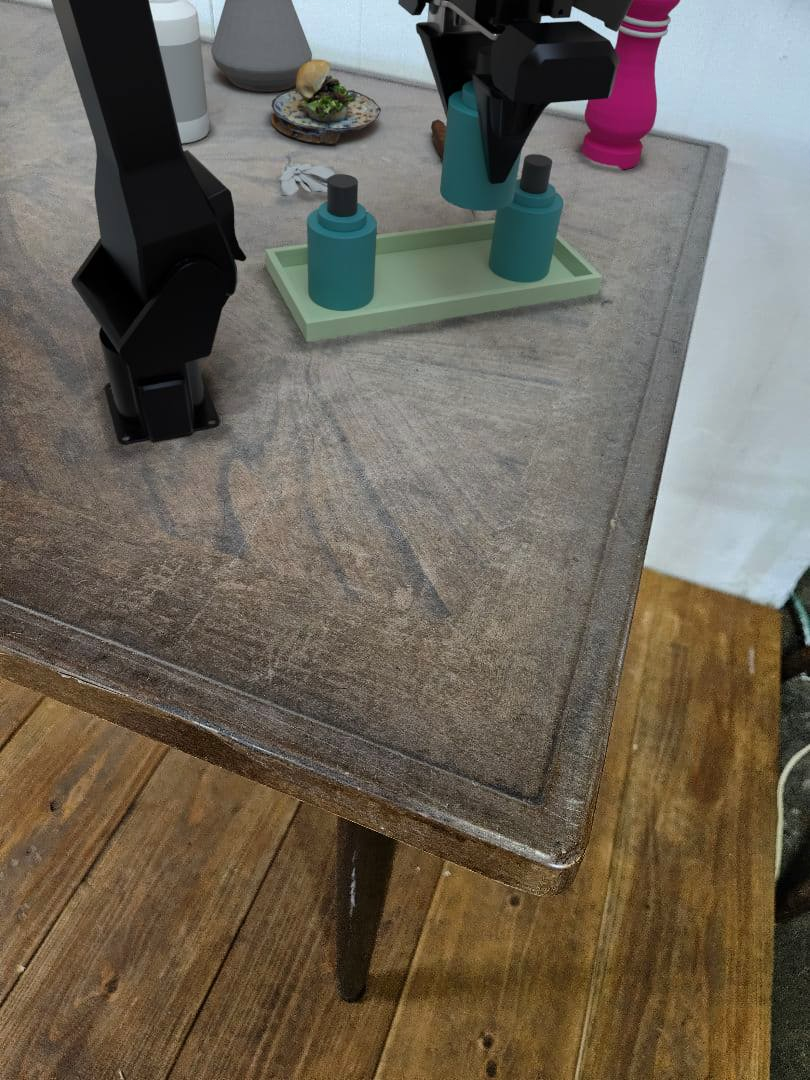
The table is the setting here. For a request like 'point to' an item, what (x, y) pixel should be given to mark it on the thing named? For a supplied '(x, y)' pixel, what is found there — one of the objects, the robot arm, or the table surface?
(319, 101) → the plate of food
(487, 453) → the table surface
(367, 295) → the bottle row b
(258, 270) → the table surface
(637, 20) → the pepper mill
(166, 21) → the spray bottle
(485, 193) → the bottle loose
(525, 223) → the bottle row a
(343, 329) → the tray
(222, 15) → the coffee pot
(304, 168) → the flower
